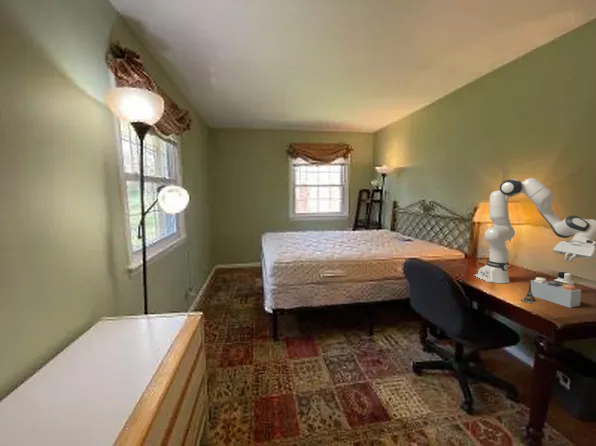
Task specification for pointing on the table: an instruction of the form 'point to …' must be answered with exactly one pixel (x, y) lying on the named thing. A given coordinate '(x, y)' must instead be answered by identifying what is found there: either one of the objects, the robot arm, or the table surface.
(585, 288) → the table surface
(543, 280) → the button cream
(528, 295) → the eiffel tower figurine
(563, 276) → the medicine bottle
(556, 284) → the button charcoal
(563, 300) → the button console
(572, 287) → the button terracotta
